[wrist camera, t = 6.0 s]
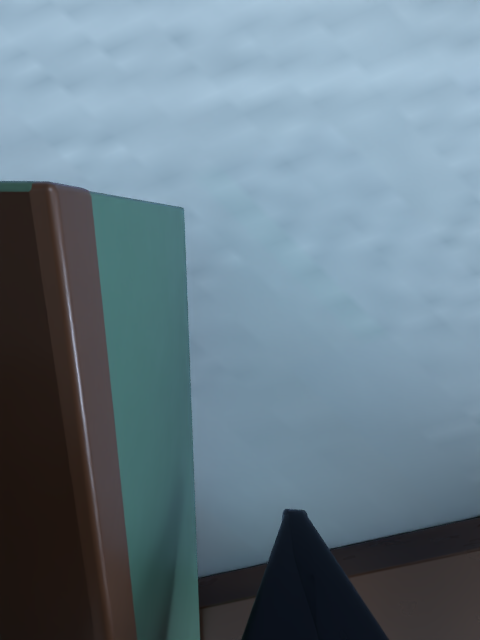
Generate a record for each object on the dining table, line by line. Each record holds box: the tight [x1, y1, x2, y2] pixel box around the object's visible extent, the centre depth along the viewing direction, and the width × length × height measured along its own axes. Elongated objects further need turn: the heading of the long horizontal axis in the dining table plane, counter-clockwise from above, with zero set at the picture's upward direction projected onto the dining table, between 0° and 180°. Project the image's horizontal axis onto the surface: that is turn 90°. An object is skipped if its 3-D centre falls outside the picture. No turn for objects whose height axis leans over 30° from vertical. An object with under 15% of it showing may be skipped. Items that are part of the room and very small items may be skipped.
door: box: [0, 181, 200, 640], centre depth 7 cm, size 15×3×5 cm, turn 0°
